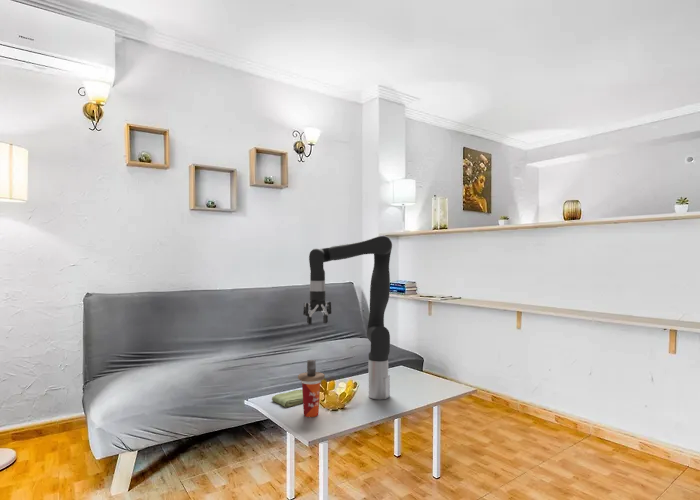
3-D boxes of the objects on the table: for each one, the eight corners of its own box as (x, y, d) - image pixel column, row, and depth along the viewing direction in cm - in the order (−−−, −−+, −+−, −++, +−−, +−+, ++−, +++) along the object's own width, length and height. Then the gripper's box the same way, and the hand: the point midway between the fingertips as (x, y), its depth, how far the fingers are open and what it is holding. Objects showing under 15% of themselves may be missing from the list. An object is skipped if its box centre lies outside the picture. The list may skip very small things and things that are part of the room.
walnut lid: (329, 376, 175) (329, 359, 175) (316, 382, 165) (316, 365, 165) (306, 373, 180) (306, 356, 180) (292, 379, 170) (292, 362, 170)
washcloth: (318, 400, 191) (318, 393, 191) (285, 409, 179) (285, 401, 179) (302, 393, 201) (302, 387, 201) (269, 401, 189) (269, 394, 189)
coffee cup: (313, 419, 166) (313, 381, 167) (296, 415, 170) (297, 378, 171) (325, 413, 173) (325, 376, 174) (309, 409, 178) (309, 374, 178)
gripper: (308, 291, 193) (308, 326, 193) (334, 290, 202) (334, 323, 201) (300, 290, 200) (300, 324, 199) (326, 289, 208) (326, 321, 207)
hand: (317, 324), depth 200 cm, fingers open, 8 cm apart
